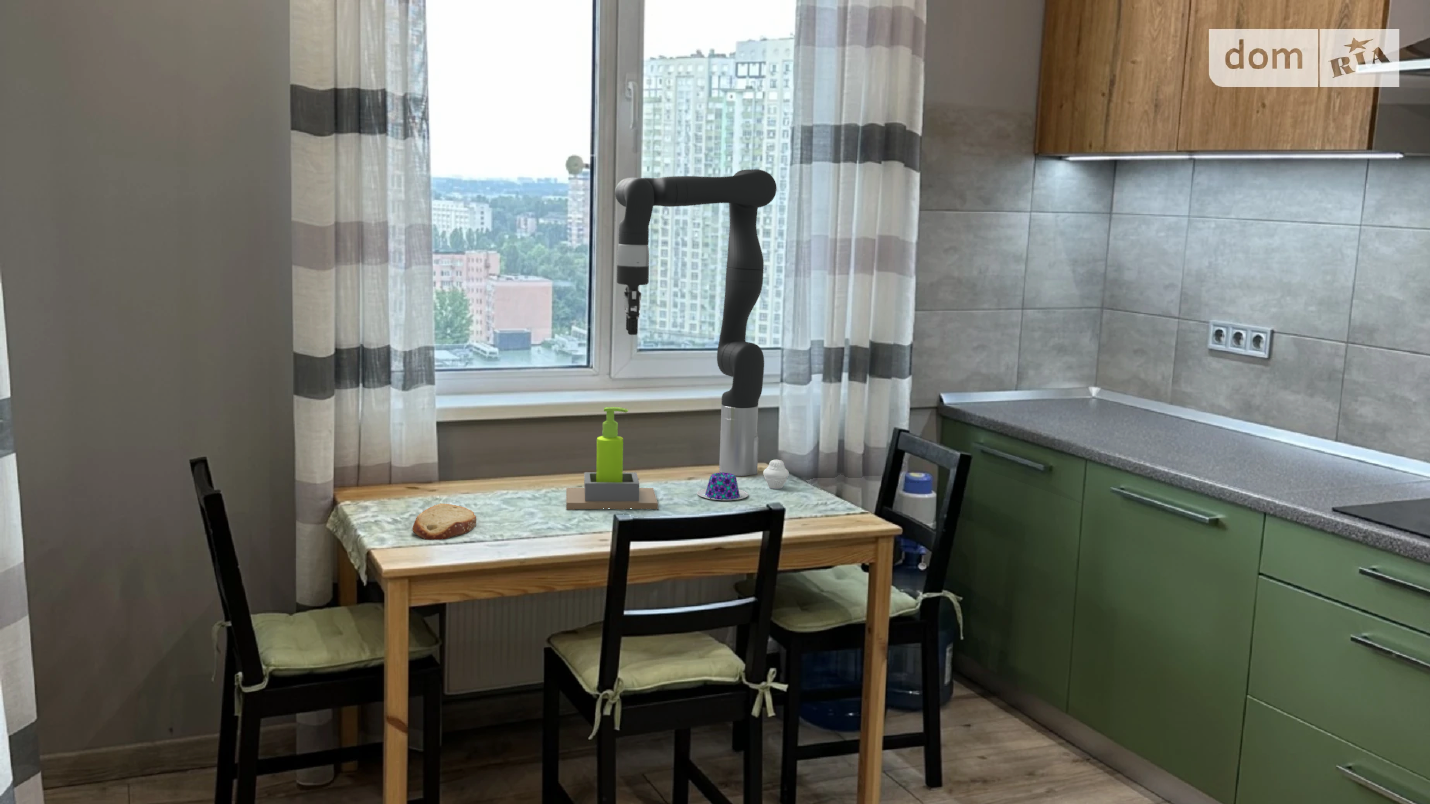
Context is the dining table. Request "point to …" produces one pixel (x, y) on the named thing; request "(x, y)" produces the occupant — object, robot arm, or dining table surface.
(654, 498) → the soap caddy
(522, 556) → the dining table surface
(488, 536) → the dining table surface
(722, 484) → the pudding
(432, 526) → the bread slice
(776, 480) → the white lidded jar
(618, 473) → the soap dispenser
